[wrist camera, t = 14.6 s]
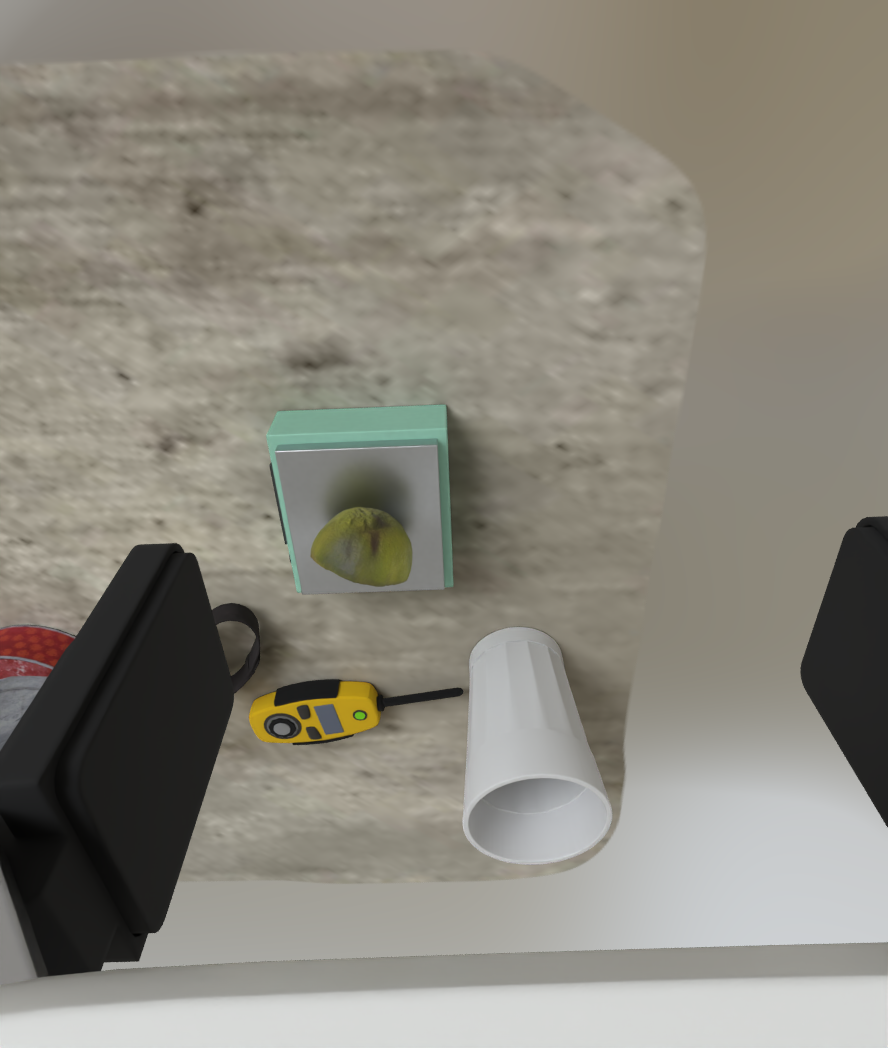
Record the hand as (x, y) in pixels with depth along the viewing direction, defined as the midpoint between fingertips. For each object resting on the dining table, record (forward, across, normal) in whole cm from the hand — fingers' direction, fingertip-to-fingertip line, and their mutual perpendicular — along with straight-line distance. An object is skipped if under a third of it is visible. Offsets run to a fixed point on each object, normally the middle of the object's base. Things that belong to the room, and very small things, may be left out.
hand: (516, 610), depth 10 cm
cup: (+26, -3, +27) cm, 38 cm away
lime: (+23, +5, +13) cm, 27 cm away
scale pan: (+23, +5, +13) cm, 27 cm away
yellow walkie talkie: (+26, +8, +30) cm, 41 cm away
